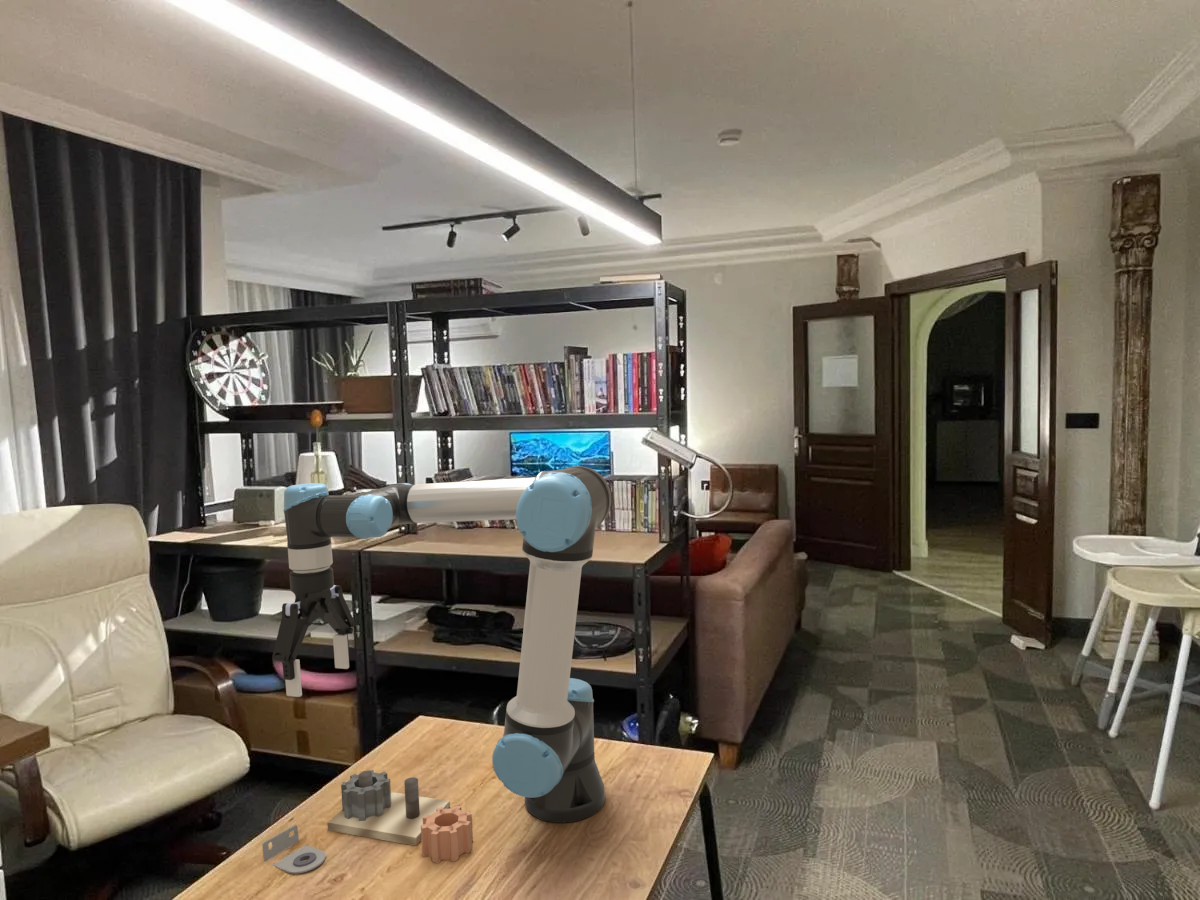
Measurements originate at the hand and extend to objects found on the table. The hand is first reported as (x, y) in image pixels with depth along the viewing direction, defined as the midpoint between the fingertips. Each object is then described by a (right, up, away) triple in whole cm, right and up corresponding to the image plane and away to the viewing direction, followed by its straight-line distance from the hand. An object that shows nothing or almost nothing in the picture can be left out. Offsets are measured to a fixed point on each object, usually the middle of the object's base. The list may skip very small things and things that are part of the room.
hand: (319, 681), depth 142 cm
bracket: (+1, -27, -12) cm, 29 cm away
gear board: (+13, -25, -1) cm, 28 cm away
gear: (+26, -25, -11) cm, 38 cm away
